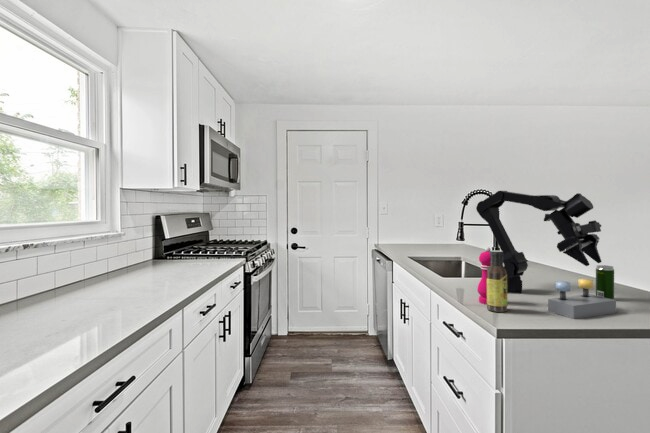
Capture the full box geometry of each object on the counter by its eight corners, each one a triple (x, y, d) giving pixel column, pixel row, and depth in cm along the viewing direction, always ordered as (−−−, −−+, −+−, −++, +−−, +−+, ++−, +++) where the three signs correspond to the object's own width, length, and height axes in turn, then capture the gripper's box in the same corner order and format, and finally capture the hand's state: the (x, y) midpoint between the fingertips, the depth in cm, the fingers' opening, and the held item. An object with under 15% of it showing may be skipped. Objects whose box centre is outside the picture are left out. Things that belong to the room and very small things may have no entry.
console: (573, 318, 116) (573, 305, 115) (548, 311, 124) (548, 299, 124) (616, 312, 121) (616, 300, 121) (588, 305, 130) (588, 293, 129)
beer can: (610, 301, 134) (610, 268, 133) (593, 298, 138) (593, 266, 138) (616, 299, 137) (616, 266, 136) (599, 296, 141) (599, 264, 141)
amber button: (580, 298, 125) (580, 280, 125) (577, 295, 129) (577, 278, 129) (594, 299, 124) (594, 281, 124) (590, 296, 128) (590, 279, 127)
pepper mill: (498, 300, 139) (497, 246, 138) (500, 305, 132) (500, 248, 131) (476, 299, 141) (476, 245, 140) (478, 304, 134) (477, 248, 134)
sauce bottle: (508, 313, 122) (507, 252, 122) (487, 312, 125) (486, 251, 124) (506, 308, 128) (506, 250, 128) (486, 307, 130) (486, 249, 130)
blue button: (557, 301, 122) (557, 283, 122) (554, 298, 126) (554, 280, 126) (571, 302, 121) (571, 284, 121) (568, 299, 125) (568, 281, 124)
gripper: (573, 213, 124) (605, 255, 117) (598, 211, 134) (629, 249, 127) (544, 231, 131) (572, 271, 124) (570, 228, 142) (597, 265, 135)
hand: (594, 264), depth 127 cm, fingers open, 9 cm apart
